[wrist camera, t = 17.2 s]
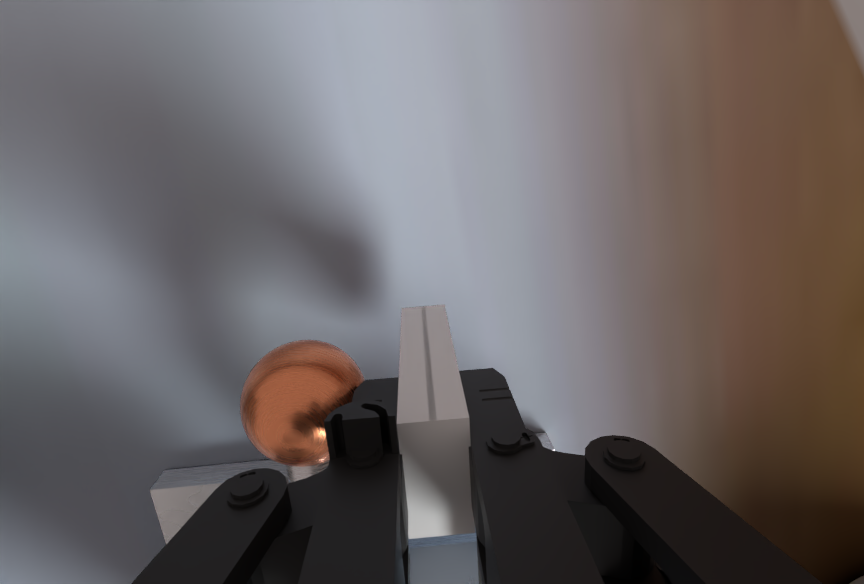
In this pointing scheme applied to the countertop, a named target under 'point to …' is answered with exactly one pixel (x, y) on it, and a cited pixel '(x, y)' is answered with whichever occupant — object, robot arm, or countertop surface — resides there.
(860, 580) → the pump dispenser
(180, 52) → the countertop surface
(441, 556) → the press
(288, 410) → the lever
